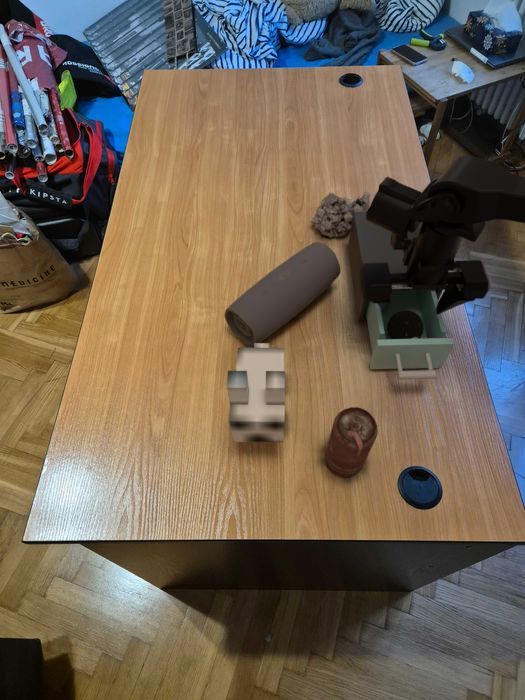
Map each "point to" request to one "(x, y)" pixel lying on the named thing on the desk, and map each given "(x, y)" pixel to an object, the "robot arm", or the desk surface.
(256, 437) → the toy llama
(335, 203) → the mineral specimen
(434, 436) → the desk surface
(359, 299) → the drawer box
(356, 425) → the can
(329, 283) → the bluetooth speaker
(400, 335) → the billiard ball
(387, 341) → the mint green drawer
